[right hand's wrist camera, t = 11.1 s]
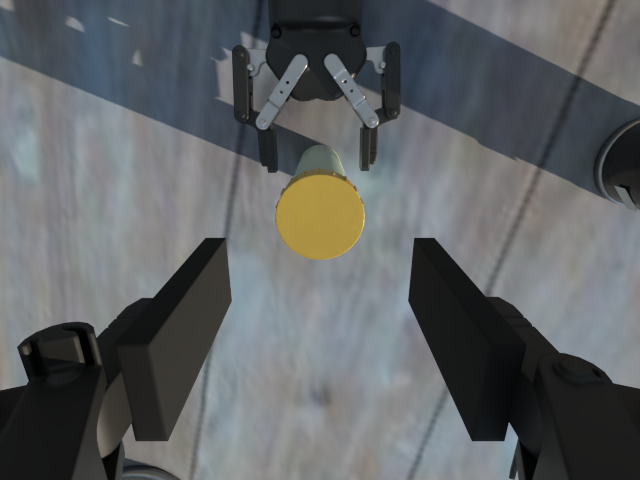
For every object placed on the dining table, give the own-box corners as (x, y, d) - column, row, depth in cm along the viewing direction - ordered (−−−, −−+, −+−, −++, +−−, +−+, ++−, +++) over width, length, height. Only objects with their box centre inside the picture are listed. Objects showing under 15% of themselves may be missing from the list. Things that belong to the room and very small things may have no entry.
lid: (350, 156, 21) (353, 161, 19) (370, 236, 23) (375, 248, 21) (266, 181, 22) (261, 188, 20) (292, 257, 24) (290, 270, 22)
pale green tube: (334, 139, 38) (347, 168, 20) (345, 179, 40) (366, 241, 21) (294, 151, 39) (271, 190, 20) (306, 190, 40) (294, 260, 22)
